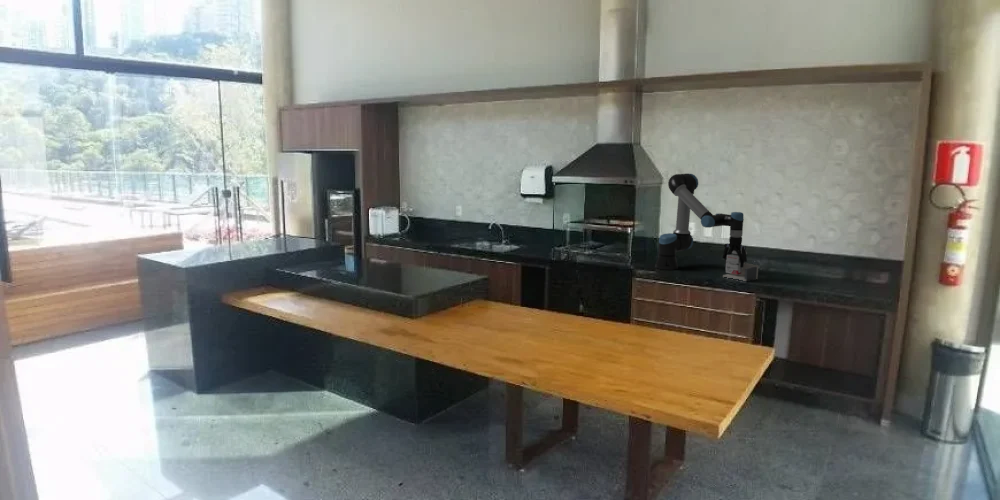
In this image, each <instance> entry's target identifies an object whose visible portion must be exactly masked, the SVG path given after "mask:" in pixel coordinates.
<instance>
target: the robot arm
mask: <svg viewBox="0 0 1000 500" xmlns="http://www.w3.org/2000/svg"><path fill="white" fill-rule="evenodd" d="M667 183H668V185H667V186H668V189H669V191H670V192H671V193H672V194H673V195H674V196H676V197H678V198H677V211H676V223H675V230H673V233H669V232H668V233H663V234H661V235H660V236H659V239H658V256H657V259H656V262H655V265H654V267H655V268H656V269H659V270H667V271H671V270H672V271H673V270H678V269H679V264H678V261H677V260H678V259H677V256H676V255H677V252H684V251H688V250H689V249H691V248H692V247H693V245H694V237H693V236H692V235H691V233H692V232H691V231H690V230H689V228H690V219H691V217H690V216H691V211H692V212H693V213H694V215H696V217H697V218H698V219H699V220H700V223H701V224H700V225H701V226H702V227H703V228H709V229H710V228H716V227H722V226H723V227H724V226H725V227H729V240H728V241H729V243H725V244H724V250H723V254H722V259H724V265H725V266H726V260H727V255H731V254H733V253H732V252H733V251H736V252H737V254H738V256H739V257H740V258H739V260H740V262H739V271H738V272H739V273H740V272H742V267H743V266H744V262H745V263H748V262H747V261H748V258H747V254H746V252H747V246H746V245H745V246H743V245H742V243H743V233H744V232H743V231H744V230H743V228H744V227H743V226H744V213H743V212H740V211H732V212H731V213H730V214H726V213H715V214H713V213H712V212H711V211H710V210H709V209H708V208H707V207H706V206H705V205H704V204H703V203H702V202H701V201H700V200H699V199H698V198H697V197H696V195H694V194H695V190H697V189H698V186H699V180H698V177H697V176H696V175H695V174H693V173H675V174H673V175H672V176H671V177H669V179H668V182H667ZM741 249H742V253H741ZM725 271H726V268H725Z"/></svg>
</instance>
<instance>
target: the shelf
mask: <svg viewBox="0 0 1000 500" xmlns="http://www.w3.org/2000/svg"><path fill="white" fill-rule="evenodd" d="M724 277H727V278H726V279H728V278H733V279H739V280H743V281H748V282H751V281H750V280H752V281H756V279H757V280H758V277H759V265H758V264H752V263H748V262H745V263H744V266H743V267H742V272H741V274H738V275H737V274H732V273H726V274H722V278H724ZM733 279H732V280H733Z"/></svg>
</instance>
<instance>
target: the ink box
mask: <svg viewBox="0 0 1000 500" xmlns="http://www.w3.org/2000/svg"><path fill="white" fill-rule="evenodd" d="M739 258H740V257H739V256H738V255H733V253H731V255H727V260H726V265H725V269H726V270H725V273H726V274H730V273H732V274H737V275H738V274H741V272H740V273H739V272H738V271H739V262H740V260H739Z"/></svg>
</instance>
